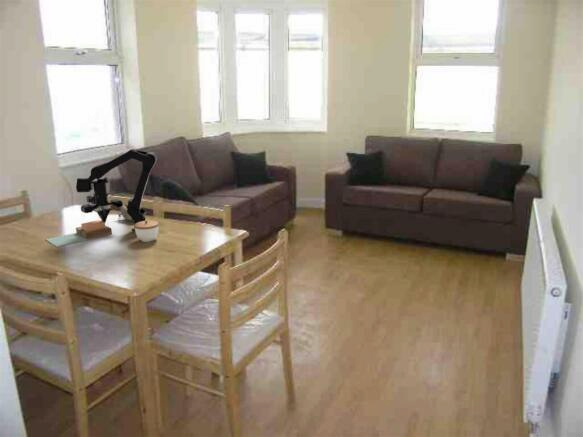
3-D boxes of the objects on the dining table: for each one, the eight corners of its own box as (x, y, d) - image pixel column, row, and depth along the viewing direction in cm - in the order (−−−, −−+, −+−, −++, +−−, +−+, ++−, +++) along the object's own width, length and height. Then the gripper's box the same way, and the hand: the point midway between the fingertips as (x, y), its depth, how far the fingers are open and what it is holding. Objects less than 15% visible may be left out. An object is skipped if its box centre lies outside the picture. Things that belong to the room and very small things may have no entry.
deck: (112, 234, 260) (111, 228, 259) (87, 239, 252) (86, 233, 252) (100, 228, 269) (100, 222, 269) (76, 233, 262) (75, 227, 261)
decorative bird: (132, 224, 276) (131, 210, 274) (116, 218, 287) (115, 205, 285) (142, 222, 280) (140, 208, 278) (126, 216, 290) (124, 203, 288)
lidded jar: (135, 244, 245) (133, 224, 243) (135, 237, 255) (133, 218, 252) (160, 242, 248) (158, 222, 245) (159, 235, 258) (157, 216, 255)
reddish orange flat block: (105, 227, 261) (104, 222, 260) (86, 231, 255) (86, 226, 254) (100, 224, 265) (99, 219, 264) (81, 228, 259) (81, 223, 259)
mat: (87, 240, 252) (87, 239, 252) (56, 247, 243) (56, 246, 243) (75, 233, 262) (75, 232, 262) (45, 239, 253) (45, 239, 253)
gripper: (112, 186, 270) (115, 216, 275) (74, 192, 259) (78, 223, 263) (121, 189, 262) (125, 220, 267) (83, 196, 251) (87, 228, 255)
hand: (104, 223), depth 263 cm, fingers closed
